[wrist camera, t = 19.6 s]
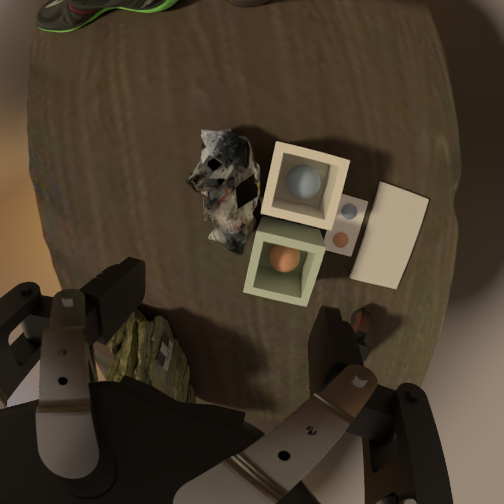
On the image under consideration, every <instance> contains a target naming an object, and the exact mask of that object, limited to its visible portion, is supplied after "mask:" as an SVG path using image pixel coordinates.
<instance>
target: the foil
mask: <svg viewBox="0 0 504 504" xmlns="http://www.w3.org/2000/svg"><path fill="white" fill-rule="evenodd" d="M201 131H202V134H201V137H202V139H203V143H202V144H203V145H202V148H201V149H202V154H201V158H200V160H199V162H198V164H197V166H196V167H195V169H194V170H193V172H192V173H191V174H190V176H189V177H188V178H187V180H186V183H188V184H189V185H190V186H191V187H192V188H193V189H194V190H195V191H196V192H200V193H202V194H204V195H206V196H207V201H206V205H205V208H204V209H205V210H204V212H203V215H206V216H205V218H204V219H203V220H205V221H206V220H207V219H208V218H210V217H211V218H210V220H209V221H211V222H213V225H214V226H215V229H214V230H213V231H212V232H211V233H210V235H209V240H214V241H219V242H221V243H222V244H223V245H224V246H225V247H226V248H227V249H226V248H224V247H222V246H220V245H219V246H220V247H222V248H224V249H226V250H228V249H229V250H228V251H229V252H231V253H233V254H235V255H237V256H242V254H243V252H244V249H245V246H246V243H247V241H248V239H249V237H250V235H251V233H252V231H253V230H254V228H255V226H256V223H257V220H256V219H255V217H254V215H253V213H252V212H253V211H254V209H255V207H256V206H257V201H258V198H259V195H260V167H259V165H258V164H257V162H255V159H254V153H253V149H252V146H251V144H250V142H249V140H248V138H247V136H243V135H241V136H237V135H236V134H235V133H234V132H233V131H232V130H231V129H225V130H220V131H212V130H208V129H206V130H201ZM244 143H248V144H249V148H250V151H249V156H248V161H246V160H247V148H246V147H245V145H244ZM214 158H215V159H216V160H218V161H219V162H220V163H222V165H221V166H220V167H219V168H218V169H217V170H215V171H214V172H213V171H212V169H211V168H210V167H209V166H208V165H207V164H208V161H210V160H212V159H214ZM246 164H247V166H246ZM254 173H255V184H257V186H258V197H256V198H255V199H253V200H252V201H250V202H248V203H247V204H245V205H244V206H242V207H241V208H239V209H237V199H236V187H237V186H238V185H239V184H240V183H241V182H242V181H244V180H245V179H247V178H248V177H250V176H251V175H253V174H254ZM196 179H197V182H196ZM218 179H226V180H225V181H224V182H223V183H222V184H221V185H220V183H219V180H218ZM260 200H261V197H260ZM203 206H204V196H203ZM261 206H262V204H261ZM211 242H212V241H211ZM213 243H214V242H213ZM215 244H216V243H215ZM217 245H218V244H217Z"/></svg>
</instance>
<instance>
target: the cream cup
mask: <svg viewBox="0 0 504 504" xmlns="http://www.w3.org/2000/svg"><path fill="white" fill-rule="evenodd" d="M349 163H350V160H347V159H343V158H340V157H337V156H333V155H330V154H326V153H322V152H319V151H315V150H311V149H307V148H303V147H299V146H295V145H291V144H286V143H282V142H277V141H276V144H275V149H274V153H273V158H272V162H271V167H270V171H269V176H268V181H267V185H266V190H265V194H264V199H263V204H262V208H261V213H260V214H265V215H269V216H273V217H277V218H282V219H286V220H290V221H294V222H298V223H302V224H306V225H310V226H314V227H318V228H322V229H326V230H330V231H331V230H332V226H333V223H334V219H335V216H336V212H337V209H338V205H339V202H340V198H341V194H342V191H343V187H344V183H345V179H346V175H347V171H348V167H349ZM299 165H308V166H311V167H313V168H314V169H315V170H316V171H317V172H318V174H319V176H320V179H321V185H320V189H319V191H318V192H317V193H316V194H315V195H314V196H312V197H310V198H307V199H301V198H298V197H296V196H294V195H293V194H292V193H291V192H290V191H289V189H288V187H287V176H288V174H289V172H290V171H291V170H292V169H293V168H294V167H296V166H299Z"/></svg>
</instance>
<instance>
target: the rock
mask: <svg viewBox="0 0 504 504" xmlns="http://www.w3.org/2000/svg"><path fill="white" fill-rule="evenodd" d="M109 347H110V349H111V351H112V354H113V355H114V359H113V361H112V364H111V366H110V369H109V372H108V374H107V376H106V381H115V382H120V381H121V379H122V378H123V376H124V375H126V376H129V377H131V378H134V379H136V380H139V381H141V382H144V383H147V384H149V385H152V386H153V387H155V388H157V389H158V390H160V391H161V392H163V393H165V394H166V395H168V396H170V397H172V398H173V399H175V400H177V401H179V402H184V403H195V402H196V395H195V393H194V388H193V386H192V385H191V384H190V383H189V379H190V365H189V364H188V363H187V358H186V356H185V353H184V351H183V350H182V347H180V345H179V342H178V341H177V339H176V338H174V337H173V333H172V331H171V328H170V326H169V324H168V320H166V319H165V317H162V316H160V315H158V316H156V317H155V319H153V320H151V321H148V320H147V319H146V318H145V317H144V315H143V314H142V313H141V312H140V311H139V310H137V308H136V310H135V311H134V312H133V313H132V314H131V315H130V317H129V318H128V319H127V320H126V321H125V322H124V324H123V325H122V326H121V327H120V328H119V330H118V331H117V332H116V333H115V334H114V336H113V337H112V339H111V342H110V344H109Z"/></svg>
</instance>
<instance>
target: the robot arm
mask: <svg viewBox="0 0 504 504" xmlns="http://www.w3.org/2000/svg"><path fill="white" fill-rule="evenodd" d="M226 1H227V2H229V3H231V4H233V5H236V6H242V7H252V6H258V5H262V4H264V3H266V2H268V1H270V0H226ZM145 269H146V265H145V262H144V261H143V260H139V259H136V258H132V257H128V258H127V259H125V260H124V261H123V262H121V263H120V264H116V265H113V266H110V267H108V268H106V269H105V270H104V271H102V272H101V274H99V275H97V276H96V278H93V279H92V280H91V281H90V282H88V283H87V284H86V285H85V286H83V287H82V288H81V289H80V290H75V289H66V290H62V291H60V292H58V293H57V294H55V296H54V297H48V296H43V295H41V292H40V287H39V286H38V285H37V284H36V283H34V282H25V283H21V284H19V285H17V286H16V287H14V288H13V289H12V290H10V291H9V292H8V293H7V294H5V295H4V296H3V297H1V298H0V504H321V503H320V502H319V501H318V500H317V499H316V497H315V496H314V495H313V494H312V493H311V491H310V490H309V489H308V488H307V487H306V485H305V484H304V483H303V481H302V480H301V479H302V478H304V476H305V475H306V474H308V472H309V471H310V470H311V469H312V468H313V467H314V466H315V465H316V464H317V463H318V462H319V461H320V460H321V459H322V458H323V456H324V455H325V454H326V453H327V452H328V451H329V450H330V449H331V448H332V446H333V445H334V444H335V443H336V442H337V440H338V439H339V438H340V437H341V436H342V434H343V433H344V432H345V431H346V432H349V433H352V434H355V435H358V436H361V437H362V444H363V460H364V485H365V504H453V499H452V493H451V487H450V481H449V476H448V471H447V467H446V462H445V458H444V454H443V450H442V446H441V442H440V438H439V435H438V431H437V427H436V424H435V421H434V417H433V414H432V411H431V408H430V405H429V402H428V399H427V396H426V394H425V392H424V391H423V390H422V389H421V388H420V387H418V386H417V385H415V384H412V383H403V384H401V385H400V386H399V387H398V388H397V390H396V391H395V390H392V389H390V388H387V387H384V386H381V385H379V384H378V380H377V377H376V376H375V374H374V373H373V372H372V371H371V370H370V369H368V368H366V367H364V364H363V360H362V356H361V353H360V349H359V346H358V342H357V339H356V335H355V332H354V329H353V328H352V327H351V325H350V324H349V323H348V322H346V321H342V318H341V314H340V310H339V309H338V308H333V307H328V306H324V305H322V306H321V308H320V310H319V313H318V315H317V318H316V320H315V323H314V325H313V328H312V330H311V333H310V336H309V340H308V360H309V383H310V397H309V398H308V399H307V400H306V401H305V402H304V403H303V404H302V405H301V406H299V407H298V408H297V409H296V410H295V411H294V412H292V413H291V414H290V415H289V416H288V417H287V418H285V419H284V420H283V421H282V422H281V423H279V424H278V425H277V426H276V427H274V428H273V429H272V430H271V431H269V432H268V433H267V434H264V433H263V432H262V431H260V430H259V429H258V428H256V427H255V426H253V425H251V424H249V423H247V422H245V421H244V417H245V412H242V411H237V410H233V409H228V408H224V407H220V406H216V405H208V404H195V403H184V402H179V401H177V400H175V399H173V398H172V397H170V396H168V395H166V394H165V393H163V392H161V391H160V390H158V389H157V388H155V387H153V386H152V385H149V384H147V383H144V382H141V381H139V380H136V379H134V378H131V377H129V376H126V375H124V376H123V378H122V379H121V381H120V382H115V381H100V382H98V377H97V370H96V362H95V354H94V347H93V344H94V343H95V342H96V341H97V342H99V343H102V344H104V345H106V344H107V343H108V342H109V340H110V339H111V338H112V337H113V336H114V334H115V333H116V332H117V331H118V330H119V328H120V327H121V326H122V325H123V324H124V322H125V321H126V320H127V319H128V318H129V317H130V315H131V314H132V313H133V312H134V311H135V310H136V308H137V307H138V306H139V305H140V304H141V302H142V301H143V298H144V295H145ZM20 323H21V326H22V329H23V333H22V334H21V335H20V336H19V337H18V338H17V339H16V340H15V341H14V342H13V343H12V344H11V345H9V343H8V338H9V335H10V333H11V332H12V331H13V330H14V329H15V328H16V327H17V326H18V325H19V324H20ZM39 360H40V378H39V399H37V400H34V401H30V402H27V403H23V404H19V405H15V406H11V407H7V408H6V406H7V400H8V399H9V397H10V396H11V395H12V394H13V392H14V391H15V390H16V388H17V387H18V386H19V384H20V383H21V382H22V381H23V379H24V378H25V377H26V376H27V374H28V373H29V372H30V370H31V369H32V368H33V367H34V366H35V364H36V363H37V362H38V361H39Z"/></svg>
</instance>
